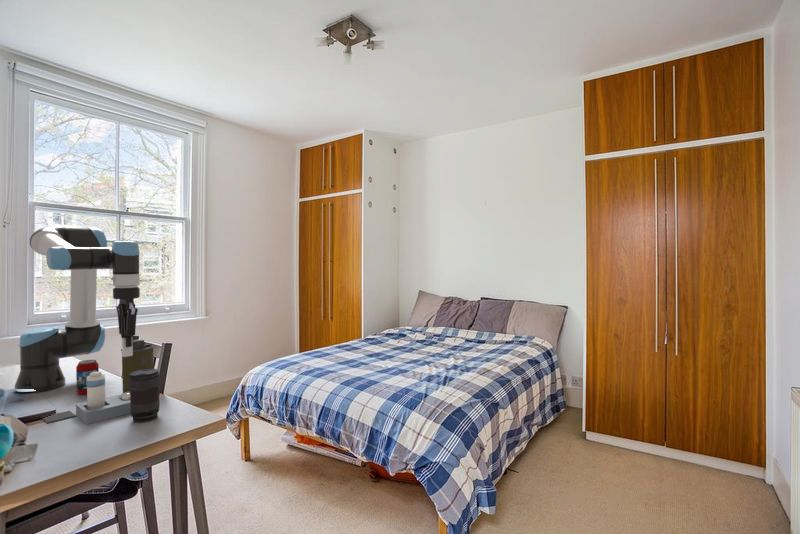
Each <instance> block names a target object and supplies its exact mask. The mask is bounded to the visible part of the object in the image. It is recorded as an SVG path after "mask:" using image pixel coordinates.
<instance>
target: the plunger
mask: <svg viewBox="0 0 800 534" xmlns="http://www.w3.org/2000/svg"><path fill="white" fill-rule="evenodd" d="M121 394H122V400H123V401H125V400H129V399H130V392H125V393H123V392H122V393H121Z"/></svg>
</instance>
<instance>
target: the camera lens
mask: <svg viewBox="0 0 800 534" xmlns="http://www.w3.org/2000/svg"><path fill="white" fill-rule="evenodd" d="M129 389H130V410H131V413H130V416H131V417H132V421H133V422H135V423H146V422H150V421H153V420H156V419H157V418H158V416H159V414H158V413H159V412H160V402H161V401H160V395H161V391H160V372H159V369H158V368H153V369H143V370H138V371H134V372H132V373H130V377H129Z"/></svg>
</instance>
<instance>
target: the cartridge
mask: <svg viewBox="0 0 800 534" xmlns="http://www.w3.org/2000/svg"><path fill="white" fill-rule="evenodd" d="M105 377H106V375H105V373H102V371H99V372H92V373H90V376H88V377H87V394H86V395H87V396H86V397H87V399H86V402H87V409H88V410H89V409H94V408H98V407H102V406H105V398H106V378H105Z"/></svg>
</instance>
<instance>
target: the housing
mask: <svg viewBox="0 0 800 534" xmlns="http://www.w3.org/2000/svg"><path fill="white" fill-rule="evenodd" d="M122 394H123V393H121V394H118V395H117V394H116V395H112V396H108V397H105V406H102V407H98V408H94V409H89V410H88V409H87V401H85V402H80V403H76V404H75V416H76V417H77V418H79V419H80V420H81V421H82V422H84V424H86V425H89V424H90V425H91V424H93V423H98V422H101V421H102V422H103V421H105V420H106V421H107V420H110V419H114V418H117V417H120V416H121V417H122V416H124V415H129V414H131V410H130V399H129V400H125V401H123V400H122Z"/></svg>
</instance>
